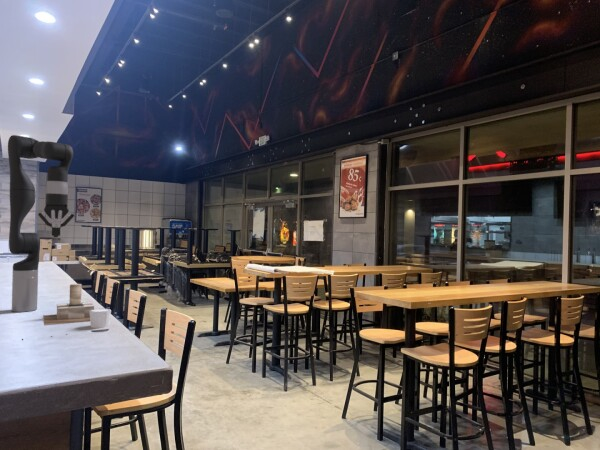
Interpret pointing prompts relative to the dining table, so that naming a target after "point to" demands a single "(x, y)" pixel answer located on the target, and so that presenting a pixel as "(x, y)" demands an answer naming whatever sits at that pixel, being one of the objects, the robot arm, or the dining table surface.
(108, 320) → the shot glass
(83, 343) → the dining table surface
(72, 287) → the peg
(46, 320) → the socket board
